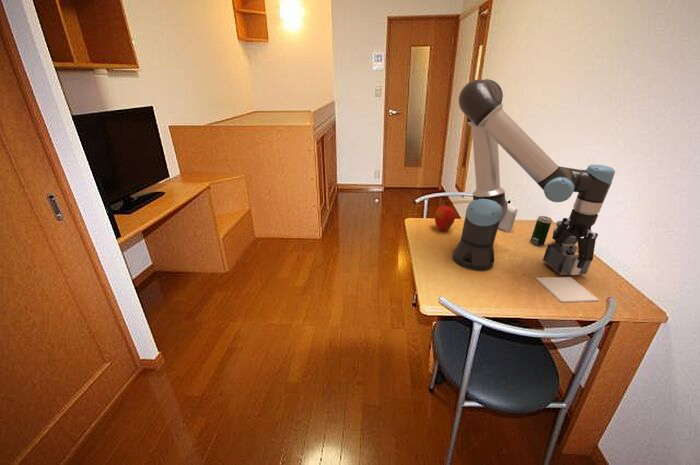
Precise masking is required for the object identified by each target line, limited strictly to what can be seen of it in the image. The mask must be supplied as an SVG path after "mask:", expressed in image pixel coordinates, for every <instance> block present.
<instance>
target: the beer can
mask: <svg viewBox="0 0 700 465" xmlns="http://www.w3.org/2000/svg"><path fill="white" fill-rule="evenodd" d="M535 222H536V223H535V224H534V225H535V226H534V229H533V231H532V235H531V237H530V244H531V245H534V246H535V247H542V246H544V245H545V242H546V240H547V237H548V234H549V231H550V228H551V225H552V218H551V217H549V216H545V215H539V216H538V217H537V218H536V221H535Z"/></svg>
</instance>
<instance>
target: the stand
mask: <svg viewBox="0 0 700 465" xmlns="http://www.w3.org/2000/svg"><path fill="white" fill-rule="evenodd" d="M566 254H567V255H574V250H572V249H568V250H567V251H566Z"/></svg>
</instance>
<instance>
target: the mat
mask: <svg viewBox="0 0 700 465" xmlns="http://www.w3.org/2000/svg"><path fill="white" fill-rule="evenodd" d="M535 280H536V281H537V282H538V283H539V284H540V285H541V286H543V288H544V289H546V290H547V292H549V293H550V294H551V295H552V296H553V297H554V298H555V299H556V300H557V301H559V303H562V302H563V303H584V302H585V303H586V302H588V303H589V302H599V298H598V297H596V296H594V295H593V293H591V292H590V291H589V290H588V289H586V288H585V287H584V286H583V285H581V284H580V283H579V282H577V281H576V280H575V279H574V278H573V277H571V276H565V277H563V276H562V277H561V276H560V277H557V276H556V277H553V276H552V277H536V278H535Z"/></svg>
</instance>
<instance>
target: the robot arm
mask: <svg viewBox="0 0 700 465" xmlns="http://www.w3.org/2000/svg"><path fill="white" fill-rule="evenodd" d="M503 98H504V93H503V90H502V87H501V86H500V84H499V83H498V82H496V81H494V80H492V79H489V78H488V79H487V78H485V79H481V78H479V79H473V80H472V81H469V82H468V83H466V84H465V85H464V86H463V87H462V89H461V91H460V93H459V96H458V106H459V109H460V110H461V112H462V114H464V115H465V116H466V123H467V124H468V125H469V126H470V127H471V134H472V146H473V147H472V149H473V163H474V175H475V176H474V177H475V190H474V191H473V192H472V201H470V202H469V203H468V205H467V208H466V210H465V218H464V223H463V227H462V232H461V237H460V239H459V240H460V241H458V243H457V244H456V247H455V248H454V249H453V252H452V260H453V261H454V263H455V264H456V265H458V266H460V267H463V268H465V269H467V270H469V271H470V270H471V271H477V272H484V271H488V270H491V269H492V268H493V267H494V264H495V253H494V243H495V241H496V237H497V232H498V230H499V228H498V227H499V225H500V223H501V221H502V219H503V218H504V217H505V215H506V213H507V210H508V205H507V204H508V201H507V199H506V191H505V189H504V188H502V187H501V179H500V159H499V145H500V147H501V148H502V149H503V150H504V151H505V152H506V153H507V154H508V155H509V156H510V157H511V158H512V159H513V160H514V162H516V164H518V165H519V166H520V167H521V169H522V170H524V172H526V173H527V175H528V176H529V177H530V178H531V179H532V180H533V181H534V182H535V183H536V184H537V185H538V186H539V187H540V189H542V190H543V193H544V195H545V198H546V199H548V201H550V202H553V203H562V202H566V201H567V200H569V199H570V198H571V197H572V195H573V193H577V195H576V196H577V197H576V199H575V200H574V203H573V205H572V206H573V207H572V209H571V212H570V213H569V214H570V215H569V217H564V218H562V220H561V221H562V223H561V225H560V226H559V228H558V229H557V231H556V232H555V234H554V235H553V234H552V237H551V238H552V240H554V243H555V244H561V243H564V241H565V240H566V239H567V238H569V237H570V236H571V235H572V234H573V235H574V236H575V237H576V240H577V241H578V242H577V249H578V250H577V251H578V252H577V253H578V254H577V255H579V258H576V260H575V263H574V265H573V268H572V270H571V273H570V274H569V275H571V276H579V275H580V274H579V272H580V270H581V268H583V267H584V264H585V262H586V261H591V262H592V261H593V260H594V253H595V246H596V240H597V238H598V236H599V235H598V233H597V232H593V231H592V227H593V226H594V225H595V223H596V221H597V219H598V216H599V214H600V212H601V208H602V206H603V204H604V202H605V200H606V197H607V194H608V192H609V190H610V188H611V185H612V182H613V181H614V180H613V179H614V176H615V174H616V170H615V169H614V168H613V167H611V166H608V165H603V164H590V165H588V166H587V168H586V169H577V168H571V167H564V166H559V165H558V164H557V163H556V162H555V161H554V160H553V159H552V158H551V157H550V156H549V155H548V154H547V153H546V152H545V151H544V150H543V149H542V148H541V147H540V146H539V145H538V144H537V142H535V141H534V140H533V139H532V138H531V137H530V136H529V134H527V132H525V131H524V130H523V128H521V126H519V125H518V123H516V122H515V120H514V119H512V117H511V116H510V115H508V113H507V112H506V111H505V110H504V109H503V105H504V103H503ZM583 256H584V257H583Z"/></svg>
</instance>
